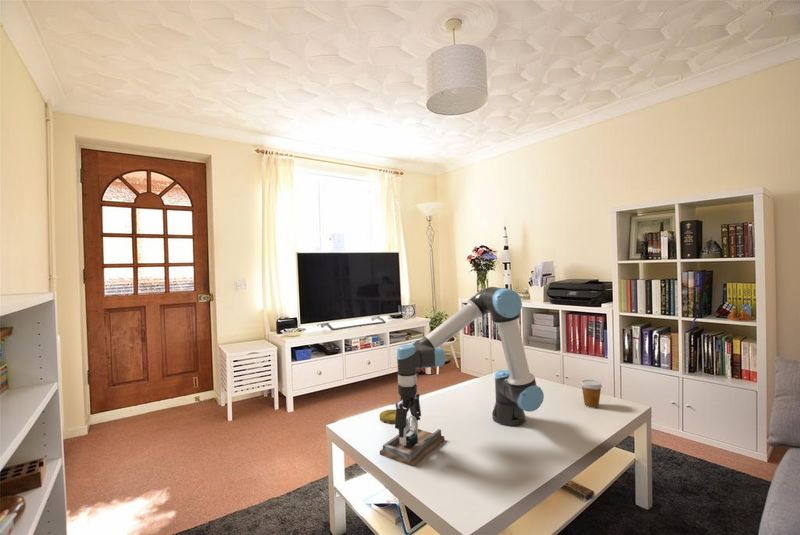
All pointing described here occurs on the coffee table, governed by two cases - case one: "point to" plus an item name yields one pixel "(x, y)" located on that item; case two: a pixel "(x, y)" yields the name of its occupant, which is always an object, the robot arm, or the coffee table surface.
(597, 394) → the disposable coffee cup
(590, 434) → the coffee table surface
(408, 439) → the watch
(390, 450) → the wooden tray
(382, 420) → the olive yellow flat disc
